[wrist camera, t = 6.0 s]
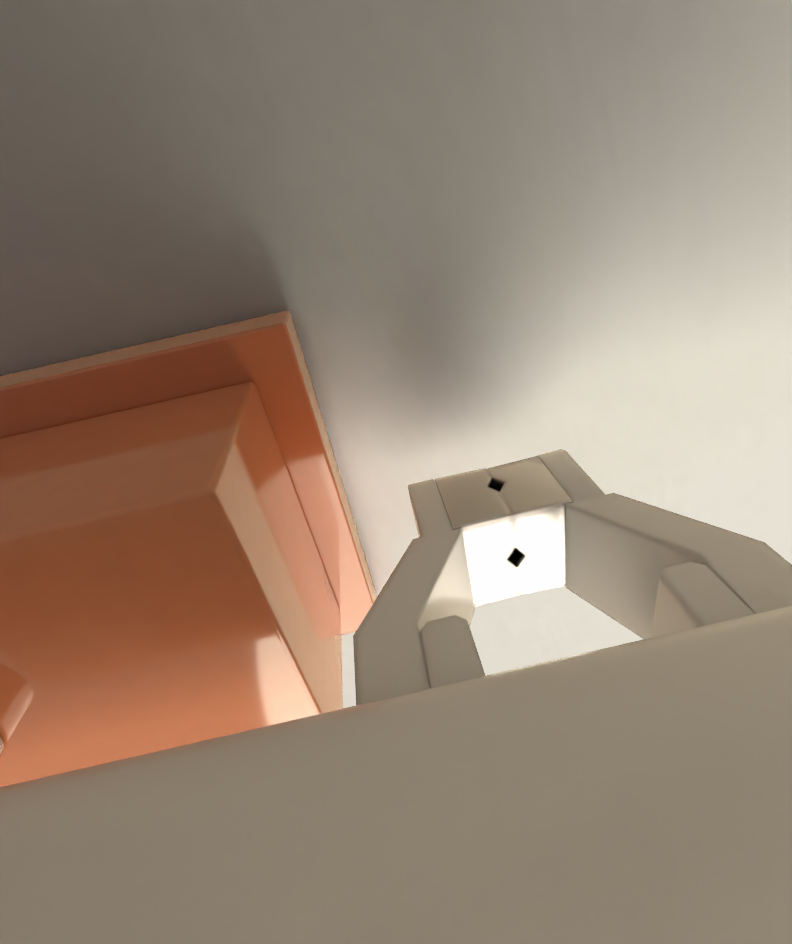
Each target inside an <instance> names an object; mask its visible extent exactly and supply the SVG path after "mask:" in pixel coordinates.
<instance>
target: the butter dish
mask: <svg viewBox="0 0 792 944" xmlns="http://www.w3.org/2000/svg"><path fill="white" fill-rule="evenodd" d="M376 598H377V595H376V592H375V589H374V585H373V582H372V579H371V575H370V572H369V569H368V566H367V562H366V559H365V556H364V553H363V549H362V546H361V543H360V539H359V536H358V533H357V530H356V526H355V523H354V520H353V517H352V513H351V510H350V507H349V503H348V500H347V497H346V494H345V490H344V487H343V484H342V481H341V477H340V474H339V471H338V467H337V464H336V461H335V458H334V454H333V451H332V448H331V444H330V441H329V438H328V435H327V431H326V428H325V425H324V422H323V418H322V415H321V412H320V408H319V405H318V402H317V399H316V395H315V392H314V389H313V386H312V382H311V379H310V376H309V372H308V369H307V366H306V363H305V359H304V356H303V353H302V350H301V346H300V343H299V340H298V336H297V333H296V330H295V327H294V323H293V320H292V317H291V313H290V312H289V311H283V312H279V313H274V314H270V315H265V316H261V317H257V318H252V319H248V320H244V321H239V322H235V323H230V324H226V325H222V326H217V327H213V328H209V329H204V330H200V331H196V332H191V333H187V334H182V335H178V336H174V337H169V338H165V339H161V340H156V341H152V342H147V343H143V344H139V345H134V346H130V347H126V348H121V349H117V350H113V351H108V352H104V353H99V354H95V355H91V356H86V357H82V358H78V359H73V360H69V361H65V362H60V363H56V364H51V365H47V366H43V367H38V368H34V369H30V370H25V371H21V372H16V373H12V374H8V375H3V376H0V787H3V786H8V785H12V784H16V783H21V782H25V781H30V780H34V779H38V778H43V777H47V776H51V775H56V774H60V773H64V772H69V771H73V770H78V769H82V768H86V767H91V766H95V765H99V764H104V763H108V762H112V761H117V760H121V759H125V758H130V757H134V756H139V755H143V754H147V753H152V752H156V751H160V750H165V749H169V748H173V747H178V746H182V745H186V744H191V743H195V742H200V741H204V740H208V739H213V738H217V737H221V736H226V735H230V734H234V733H239V732H243V731H247V730H252V729H256V728H261V727H265V726H269V725H274V724H278V723H282V722H287V721H291V720H295V719H300V718H304V717H308V716H313V715H317V714H322V713H326V712H330V711H335V710H339V709H343V700H342V657H341V635H343V634H347V633H352V632H356V631H357V629H358V628H359V626H360V624H361V623H362V621H363V620H364V618H365V616H366V615H367V613H368V611H369V610H370V608H371V607H372V605H373V603H374V602H375V600H376Z"/></svg>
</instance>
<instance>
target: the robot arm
mask: <svg viewBox="0 0 792 944" xmlns="http://www.w3.org/2000/svg"><path fill="white" fill-rule="evenodd" d="M408 490H409V494H410V499H411V504H412V508H413V513H414V517H415V522H416V526H417V531H418V535H419V538H416V539H413V540H412V542H411V543H410V545H409V547H408V548H407V550H406V552H405V553H404V555H403V556H402V558H401V560H400V561H399V563H398V564H397V566H396V568H395V569H394V571H393V573H392V574H391V576H390V577H389V579H388V581H387V582H386V584H385V586H384V587H383V589H382V590H381V592H380V594H379V595H378V597H377V598H376V600H375V602H374V603H373V605H372V607H371V608H370V610H369V611H368V613H367V615H366V616H365V618H364V620H363V621H362V623H361V624H360V626H359V628H358V629H357V631H356V632H355V634H354V636H353V639H354V662H355V686H356V706H352V707H348V708H343V709H339V710H335V711H330V712H326V713H322V714H317V715H313V716H308V717H304V718H300V719H295V720H291V721H287V722H282V723H278V724H274V725H269V726H265V727H261V728H256V729H252V730H247V731H243V732H239V733H234V734H230V735H226V736H221V737H217V738H213V739H208V740H204V741H200V742H195V743H191V744H186V745H182V746H178V747H173V748H169V749H165V750H160V751H156V752H152V753H147V754H143V755H139V756H134V757H130V758H125V759H121V760H117V761H112V762H108V763H104V764H99V765H95V766H91V767H86V768H82V769H78V770H73V771H69V772H64V773H60V774H56V775H51V776H47V777H43V778H38V779H34V780H30V781H25V782H21V783H16V784H12V785H8V786H3V787H0V944H792V565H791V564H790V563H789V562H787V561H786V560H785V559H784V558H783V557H781V556H780V555H779V554H778V553H777V552H775V551H774V550H773V549H772V548H771V547H769V546H768V545H767V544H766V543H764V542H761V541H758V540H755V539H752V538H749V537H746V536H743V535H740V534H737V533H734V532H731V531H728V530H725V529H722V528H719V527H716V526H713V525H710V524H707V523H704V522H701V521H697V520H694V519H691V518H688V517H685V516H682V515H679V514H676V513H673V512H670V511H667V510H664V509H661V508H658V507H655V506H652V505H649V504H646V503H643V502H640V501H636V500H633V499H630V498H627V497H624V496H621V495H618V494H615V493H612V494H607V495H605V494H604V493H603V491H602V490H601V489H600V488H599V487H598V486H597V485H596V484H595V483H594V481H593V480H592V479H591V478H590V477H589V476H588V475H587V474H586V473H585V471H584V470H583V469H582V468H581V467H580V466H579V465H578V464H577V463H576V462H575V460H574V459H573V458H572V457H571V456H570V455H569V454H568V453H567V452H566V451H565V450H562V449H560V450H557V451H553V452H549V453H545V454H542V455H538V456H536V457H532V458H528V459H524V460H520V461H516V462H512V463H508V464H504V465H500V466H496V467H492V468H488V469H480V470H475V471H470V472H465V473H461V474H456V475H451V476H446V477H442V478H437V479H434V480H433V479H431V480H427V481H423V482H419V483H414V484H410V485H408ZM562 586H566V588H567V589H569V590H570V591H572V592H573V593H575V594H576V595H578V596H579V597H581V598H582V599H584V600H585V601H587V602H588V603H590V604H591V605H593V606H594V607H596V608H598V609H599V610H601V611H602V612H604V613H605V614H607V615H608V616H610V617H611V618H613V619H614V620H616V621H617V622H619V623H620V624H622V625H623V626H625V627H626V628H628V629H629V630H631V631H632V632H634V633H635V634H637V635H638V636H640V637H641V638H643V639H644V640H639V641H635V642H631V643H626V644H622V645H618V646H613V647H609V648H604V649H600V650H596V651H591V652H587V653H583V654H578V655H574V656H570V657H565V658H561V659H557V660H552V661H548V662H544V663H539V664H535V665H531V666H526V667H522V668H517V669H513V670H509V671H504V672H500V673H496V674H491V675H487V676H485V673H484V670H483V667H482V664H481V661H480V658H479V655H478V652H477V649H476V646H475V643H474V640H473V637H472V634H471V631H470V628H469V626H470V623H471V620H472V617H473V613H474V610H475V608H474V607H475V606H479V605H483V604H487V603H490V602H494V601H498V600H502V599H506V598H510V597H514V596H518V595H522V594H527V593H532V592H537V591H542V590H547V589H552V588H557V587H562Z"/></svg>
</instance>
